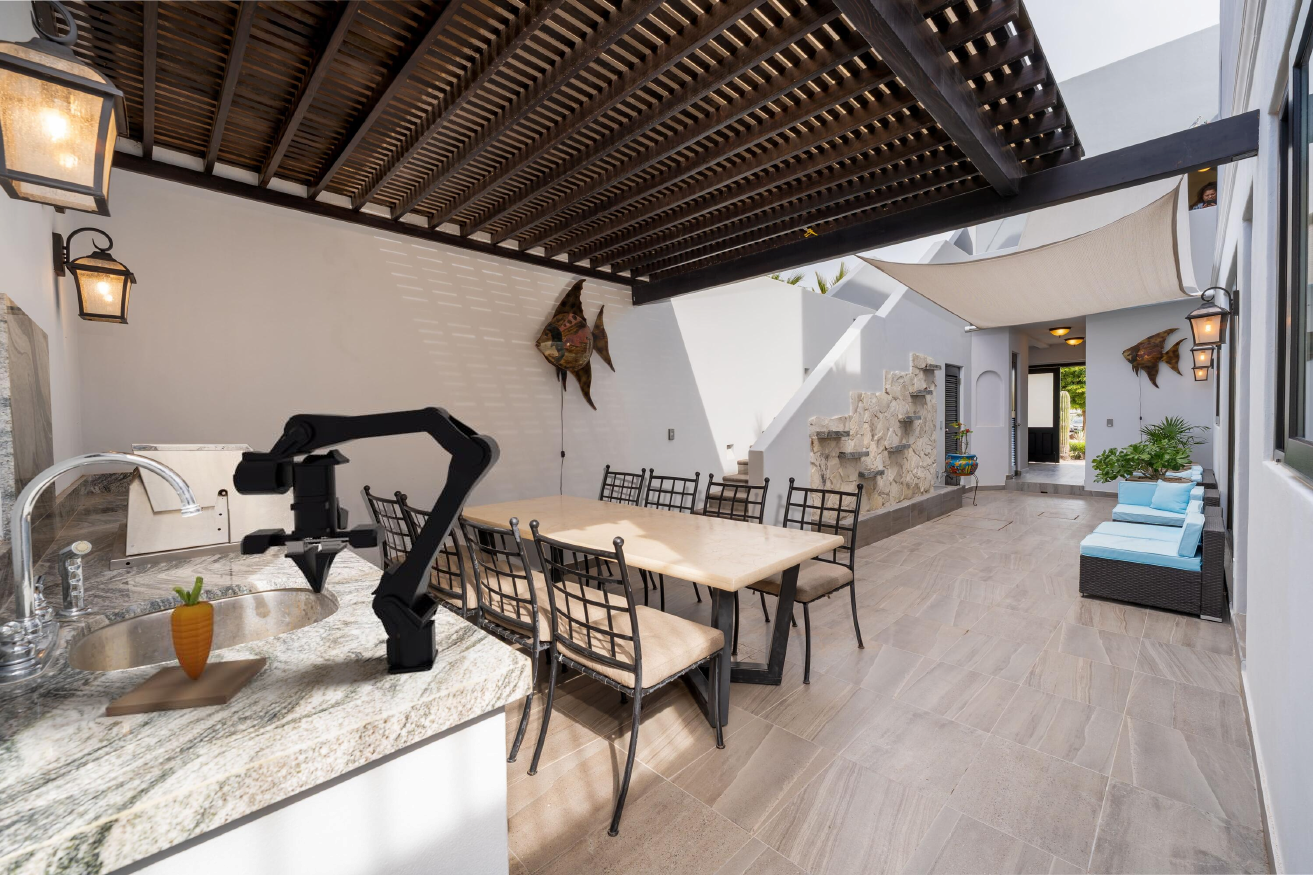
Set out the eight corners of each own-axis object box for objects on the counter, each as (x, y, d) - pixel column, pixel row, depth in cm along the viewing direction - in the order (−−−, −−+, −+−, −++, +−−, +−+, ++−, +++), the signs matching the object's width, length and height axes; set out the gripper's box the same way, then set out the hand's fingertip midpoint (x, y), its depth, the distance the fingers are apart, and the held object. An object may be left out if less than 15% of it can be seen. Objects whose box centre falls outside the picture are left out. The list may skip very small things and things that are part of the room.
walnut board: (266, 664, 89) (266, 657, 89) (226, 703, 77) (226, 694, 77) (164, 674, 86) (164, 666, 86) (106, 716, 74) (105, 707, 74)
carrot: (179, 691, 78) (174, 587, 77) (168, 681, 81) (163, 580, 80) (222, 677, 82) (218, 578, 81) (210, 668, 85) (206, 572, 84)
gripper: (392, 484, 96) (395, 573, 97) (271, 489, 92) (275, 581, 93) (374, 494, 85) (378, 594, 86) (236, 499, 81) (241, 604, 82)
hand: (318, 592), depth 87 cm, fingers closed
